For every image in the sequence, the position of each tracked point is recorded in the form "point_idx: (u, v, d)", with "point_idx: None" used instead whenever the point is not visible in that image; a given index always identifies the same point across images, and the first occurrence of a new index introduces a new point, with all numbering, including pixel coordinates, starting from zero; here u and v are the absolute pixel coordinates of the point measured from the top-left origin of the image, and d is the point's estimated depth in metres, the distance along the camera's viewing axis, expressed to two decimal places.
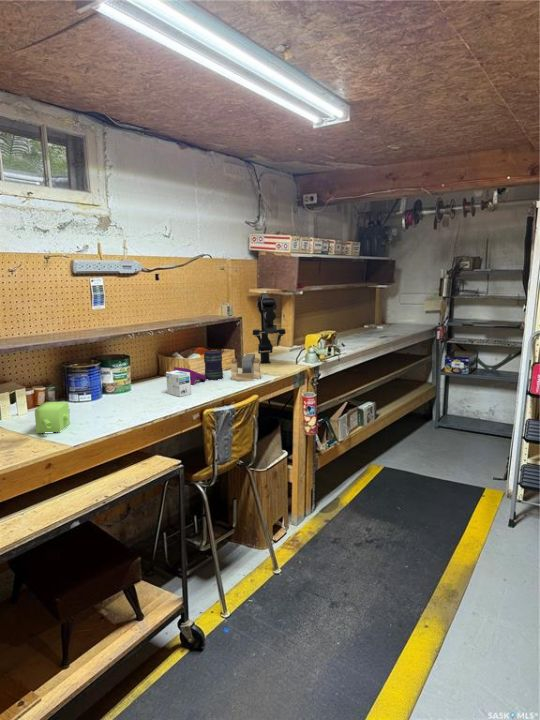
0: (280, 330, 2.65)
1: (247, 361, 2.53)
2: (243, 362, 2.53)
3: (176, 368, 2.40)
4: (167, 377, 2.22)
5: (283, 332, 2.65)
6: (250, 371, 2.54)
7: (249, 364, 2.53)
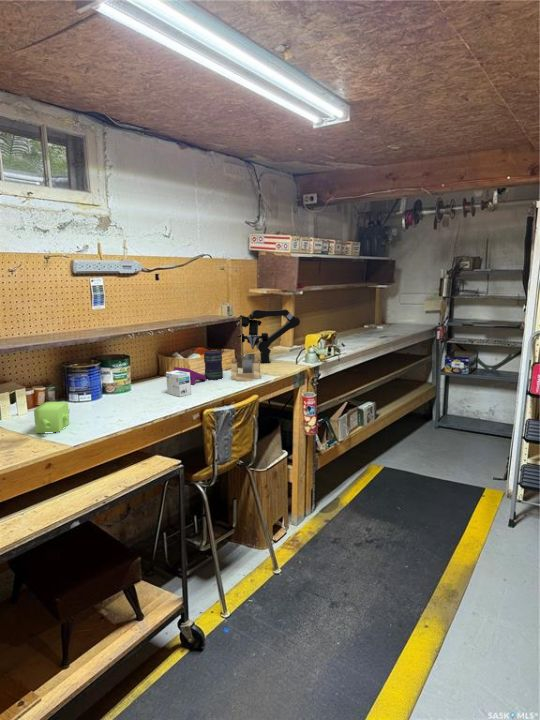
0: None
1: (248, 361, 2.53)
2: (244, 362, 2.53)
3: (176, 368, 2.40)
4: (167, 377, 2.22)
5: None
6: (251, 371, 2.54)
7: (250, 364, 2.53)
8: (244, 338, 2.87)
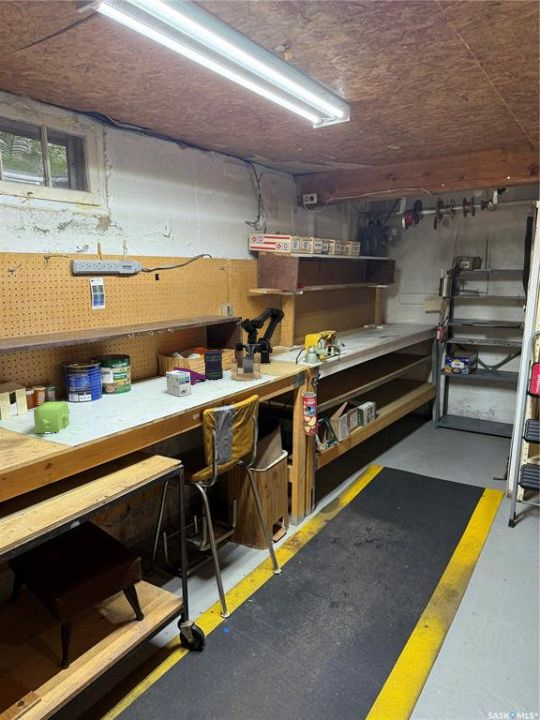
0: None
1: (248, 361, 2.53)
2: (244, 362, 2.53)
3: (176, 368, 2.40)
4: (167, 377, 2.22)
5: None
6: (251, 371, 2.54)
7: (250, 364, 2.54)
8: (242, 347, 2.78)
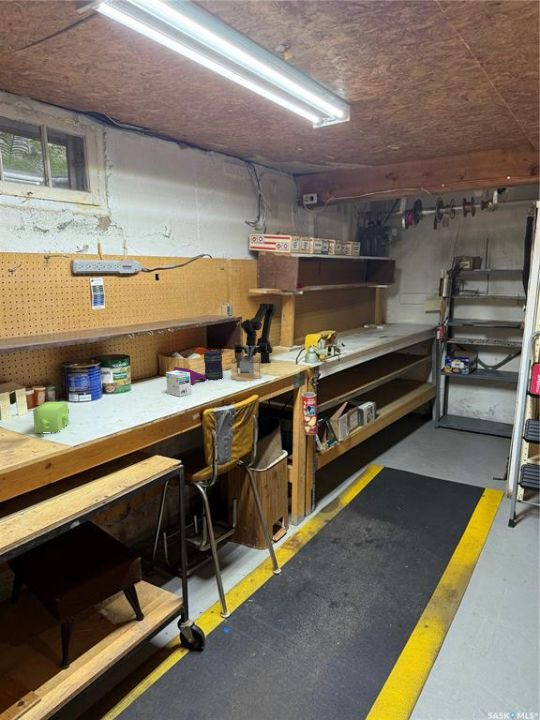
0: None
1: (245, 363, 2.48)
2: (241, 364, 2.48)
3: (176, 368, 2.41)
4: (167, 377, 2.22)
5: None
6: None
7: (247, 366, 2.48)
8: (241, 349, 2.73)
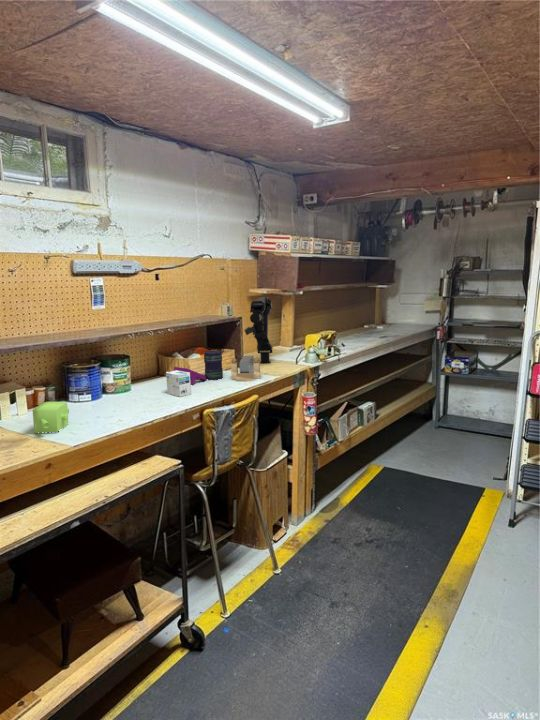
0: (255, 333, 2.71)
1: (245, 363, 2.48)
2: (241, 364, 2.48)
3: (176, 368, 2.41)
4: (167, 377, 2.22)
5: (254, 335, 2.69)
6: None
7: (247, 366, 2.48)
8: None
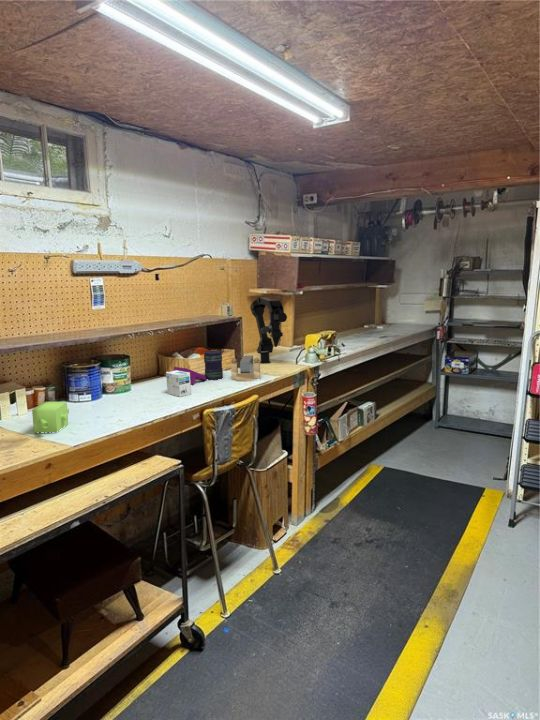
0: (272, 332, 2.74)
1: (245, 363, 2.48)
2: (241, 364, 2.48)
3: (176, 368, 2.41)
4: (167, 377, 2.22)
5: (272, 334, 2.72)
6: None
7: (247, 366, 2.48)
8: None
